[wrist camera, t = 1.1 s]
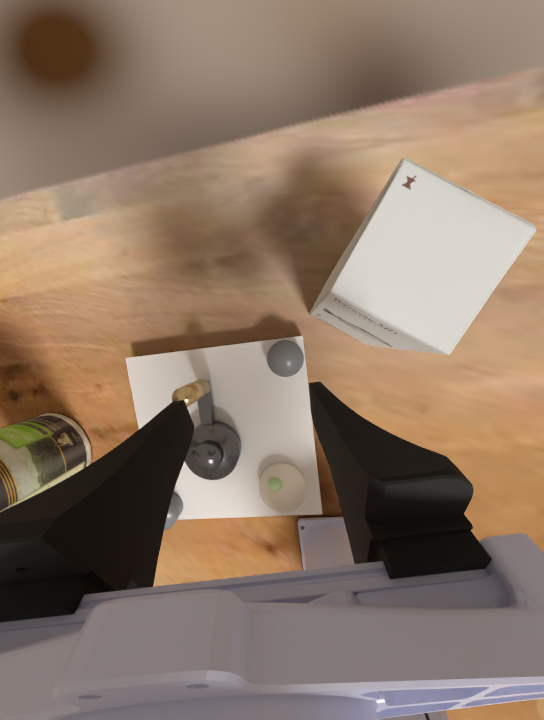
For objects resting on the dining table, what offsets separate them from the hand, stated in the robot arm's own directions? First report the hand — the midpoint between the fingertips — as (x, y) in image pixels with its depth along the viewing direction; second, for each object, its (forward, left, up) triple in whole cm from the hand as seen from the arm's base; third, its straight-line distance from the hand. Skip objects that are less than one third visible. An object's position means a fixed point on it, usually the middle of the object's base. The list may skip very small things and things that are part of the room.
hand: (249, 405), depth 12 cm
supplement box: (+7, -10, -13) cm, 17 cm away
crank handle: (-5, +7, -10) cm, 13 cm away
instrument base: (-6, +6, -13) cm, 15 cm away
